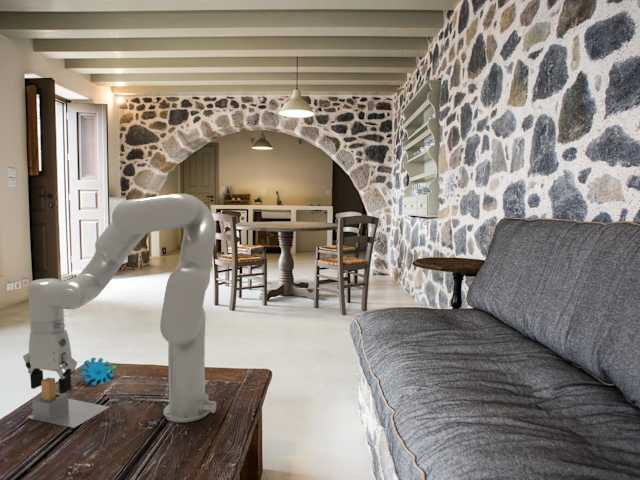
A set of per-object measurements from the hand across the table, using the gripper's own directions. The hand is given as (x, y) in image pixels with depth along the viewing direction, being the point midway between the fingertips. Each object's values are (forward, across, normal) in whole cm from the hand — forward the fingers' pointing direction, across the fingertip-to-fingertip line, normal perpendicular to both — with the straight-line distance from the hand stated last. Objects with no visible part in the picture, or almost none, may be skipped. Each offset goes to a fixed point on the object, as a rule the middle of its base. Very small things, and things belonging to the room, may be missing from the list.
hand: (51, 389), depth 118 cm
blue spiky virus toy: (+8, +6, -22) cm, 25 cm away
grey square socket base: (+8, -3, -3) cm, 9 cm away
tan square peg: (+7, 0, +1) cm, 7 cm away
